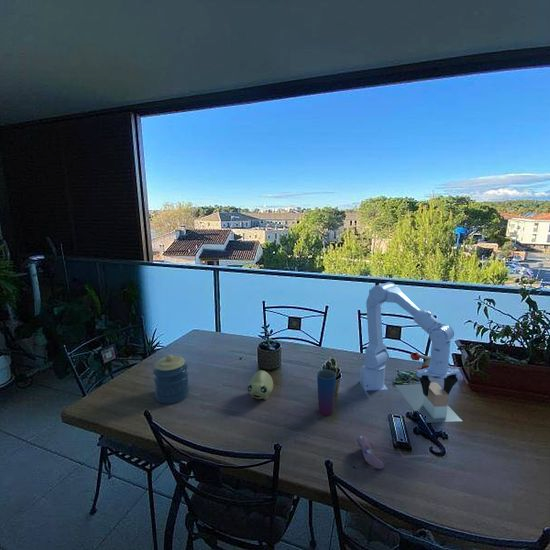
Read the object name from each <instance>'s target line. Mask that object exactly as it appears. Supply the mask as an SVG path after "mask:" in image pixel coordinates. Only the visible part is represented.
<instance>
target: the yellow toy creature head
mask: <svg viewBox="0 0 550 550" xmlns="http://www.w3.org/2000/svg"><path fill="white" fill-rule="evenodd" d="M273 389H274V380H273V378H272V376H271V374H269V372H267V371H265V370H262V369H261V370H258V371H256V372H255V373H254V374H253V376H252V377H251V378H250V380H249V382H248V385H247V392H248V394H249V395H250V396H251V398H252V399H254V398H255V399H257V400H262V399H264V400H265V401H267V400H268V398H269V396H270V395H271V393H272V392H273Z"/></svg>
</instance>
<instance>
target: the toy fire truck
mask: <svg viewBox="0 0 550 550" xmlns="http://www.w3.org/2000/svg"><path fill="white" fill-rule="evenodd" d="M410 358H411V360H412V361H420V359H421V358H422V359H425V361H423V363H422V364H421V367H417V370H421V369H425V368H429V366H430V356H427V355H424V354H419V352H417V351H416V352H412V353H410Z"/></svg>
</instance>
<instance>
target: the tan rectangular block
mask: <svg viewBox="0 0 550 550" xmlns="http://www.w3.org/2000/svg"><path fill="white" fill-rule="evenodd" d="M443 389H444V388H443V387H442V386H440V384H438V383H437V382H434V381H433V382H432V381H431V383H430V386H429V391H428V396H426V397H427V399H428V400H429V401H430V402H431V403H432V404H433V406H434V407H439V406H447V405H448V403H449V402H448V401H449V395H448V394H447V393H446V392H445V391H444V390H443Z"/></svg>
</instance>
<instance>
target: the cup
mask: <svg viewBox="0 0 550 550" xmlns="http://www.w3.org/2000/svg"><path fill="white" fill-rule="evenodd" d="M316 378H317V379H316V381H317V405H318V413H319V414H320V415H322V416H325V417H329V416H332V414H333V412H334V411H333V410H334V401H335V391H336V390H335V389H336V383H337V373H336V372H335V371H333V370H331V369H320V370H318V371H317V373H316Z"/></svg>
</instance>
